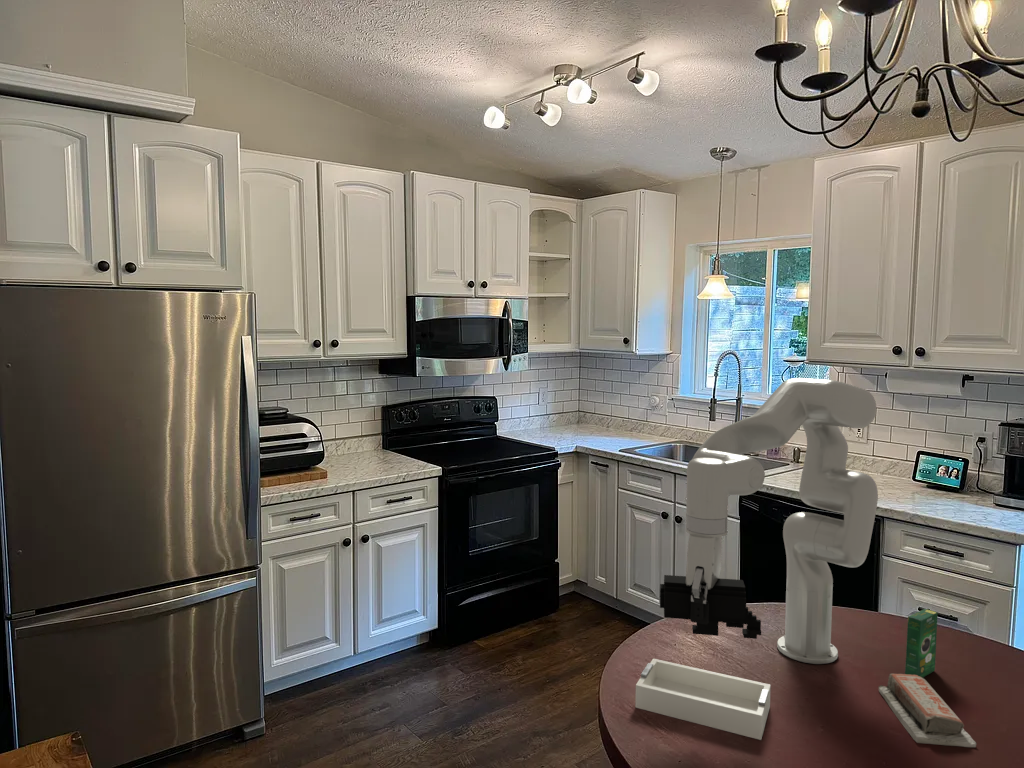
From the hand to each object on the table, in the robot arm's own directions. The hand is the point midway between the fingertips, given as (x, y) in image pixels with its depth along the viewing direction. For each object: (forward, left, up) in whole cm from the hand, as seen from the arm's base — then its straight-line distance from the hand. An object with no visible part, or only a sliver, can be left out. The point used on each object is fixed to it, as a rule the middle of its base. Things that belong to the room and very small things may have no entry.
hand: (704, 613), depth 131 cm
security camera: (0, +1, -4) cm, 4 cm away
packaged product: (-16, +38, -19) cm, 45 cm away
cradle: (0, 0, -19) cm, 19 cm away
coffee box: (-34, +38, -19) cm, 54 cm away
